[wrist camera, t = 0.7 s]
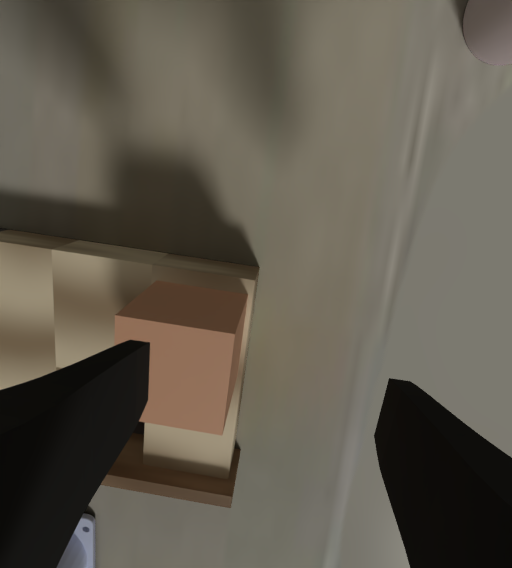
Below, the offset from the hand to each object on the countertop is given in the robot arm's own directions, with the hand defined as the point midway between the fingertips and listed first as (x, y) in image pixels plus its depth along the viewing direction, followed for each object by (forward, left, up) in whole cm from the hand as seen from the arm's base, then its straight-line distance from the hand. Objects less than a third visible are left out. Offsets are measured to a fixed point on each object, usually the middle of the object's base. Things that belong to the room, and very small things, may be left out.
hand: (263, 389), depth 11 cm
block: (-2, +4, -7) cm, 8 cm away
